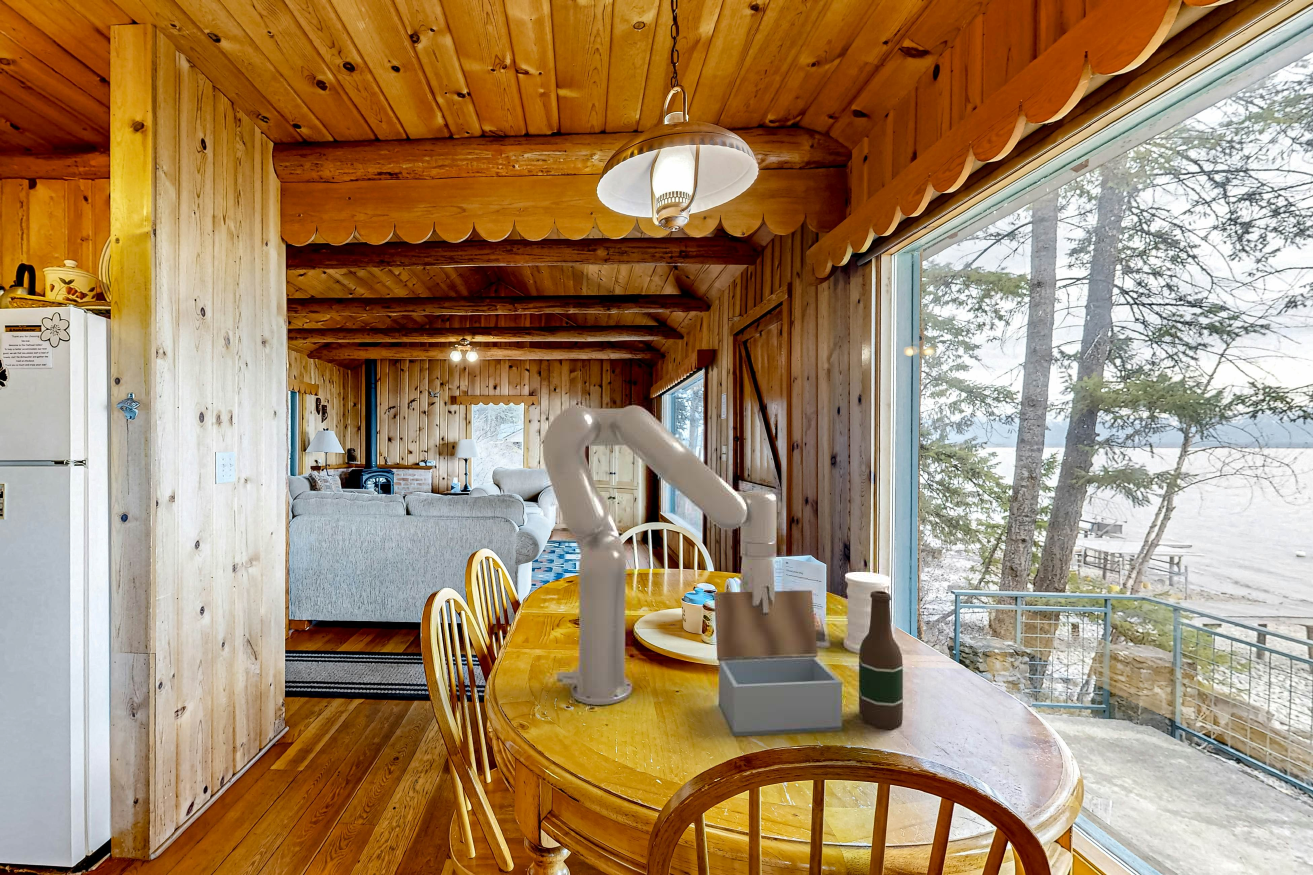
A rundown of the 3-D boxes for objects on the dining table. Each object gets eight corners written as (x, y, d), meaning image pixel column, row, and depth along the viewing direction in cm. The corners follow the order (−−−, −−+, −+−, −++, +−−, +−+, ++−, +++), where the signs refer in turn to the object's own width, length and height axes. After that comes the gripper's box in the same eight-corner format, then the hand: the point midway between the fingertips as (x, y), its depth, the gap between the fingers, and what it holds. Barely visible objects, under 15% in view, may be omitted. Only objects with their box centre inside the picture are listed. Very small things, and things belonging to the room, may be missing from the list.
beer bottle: (899, 734, 99) (899, 600, 99) (854, 723, 103) (854, 593, 103) (905, 716, 106) (905, 590, 106) (863, 706, 110) (863, 585, 110)
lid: (714, 592, 113) (714, 592, 114) (718, 660, 110) (717, 660, 110) (811, 590, 115) (810, 590, 116) (817, 656, 112) (816, 656, 113)
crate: (733, 736, 98) (734, 686, 98) (718, 704, 110) (718, 660, 110) (841, 730, 100) (842, 681, 100) (815, 700, 112) (815, 656, 112)
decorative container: (869, 637, 149) (869, 570, 150) (902, 652, 139) (902, 580, 139) (833, 642, 145) (834, 573, 146) (864, 658, 135) (865, 584, 135)
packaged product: (789, 607, 161) (825, 610, 159) (789, 624, 161) (824, 627, 159) (790, 627, 143) (830, 630, 141) (790, 646, 143) (830, 649, 141)
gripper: (732, 543, 125) (731, 624, 125) (751, 556, 110) (751, 649, 110) (764, 542, 126) (763, 623, 126) (787, 555, 111) (787, 647, 111)
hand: (757, 635), depth 118 cm, fingers closed
